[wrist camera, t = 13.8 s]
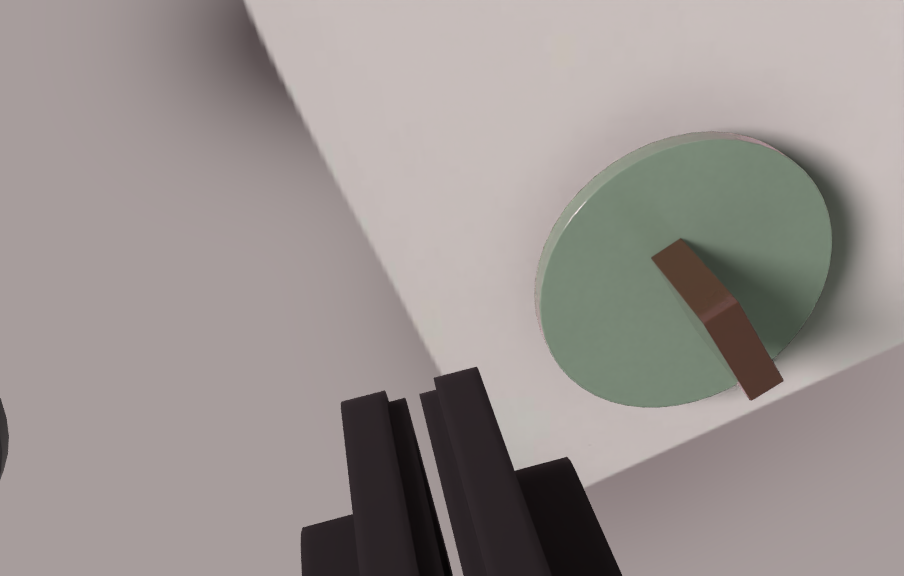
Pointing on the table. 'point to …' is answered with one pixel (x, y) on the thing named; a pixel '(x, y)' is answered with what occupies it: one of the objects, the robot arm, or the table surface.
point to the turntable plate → (721, 231)
